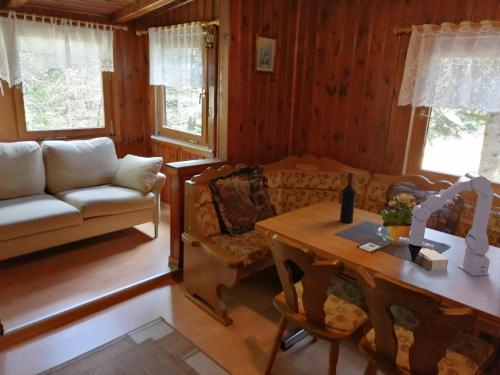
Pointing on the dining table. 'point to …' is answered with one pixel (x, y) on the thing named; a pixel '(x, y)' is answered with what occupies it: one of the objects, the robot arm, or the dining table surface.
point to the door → (419, 259)
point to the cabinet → (433, 260)
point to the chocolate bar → (374, 245)
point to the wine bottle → (348, 202)
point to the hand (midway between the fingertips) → (413, 260)
